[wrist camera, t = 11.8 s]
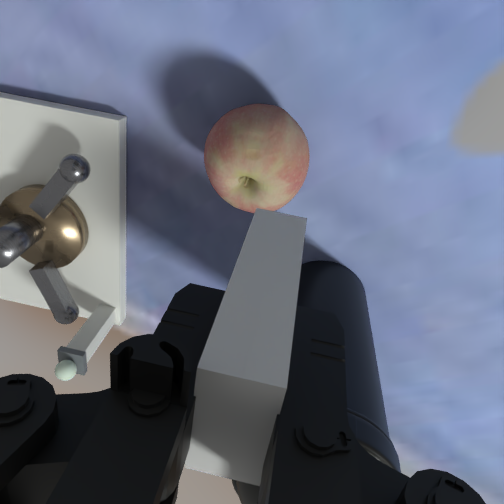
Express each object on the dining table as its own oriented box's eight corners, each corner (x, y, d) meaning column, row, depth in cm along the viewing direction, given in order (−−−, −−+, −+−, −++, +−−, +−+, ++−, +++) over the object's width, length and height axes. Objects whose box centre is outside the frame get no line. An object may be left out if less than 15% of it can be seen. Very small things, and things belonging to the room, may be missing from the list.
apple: (200, 139, 37) (170, 170, 30) (264, 72, 34) (247, 89, 27) (265, 204, 39) (250, 247, 32) (331, 147, 36) (331, 181, 29)
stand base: (-50, 82, 38) (-174, 107, 29) (126, 116, 37) (57, 154, 28) (-11, 286, 49) (-91, 352, 40) (126, 317, 48) (76, 392, 39)
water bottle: (274, 337, 46) (231, 583, 27) (265, 253, 42) (205, 478, 22) (373, 339, 45) (406, 606, 25) (376, 251, 40) (420, 496, 20)
